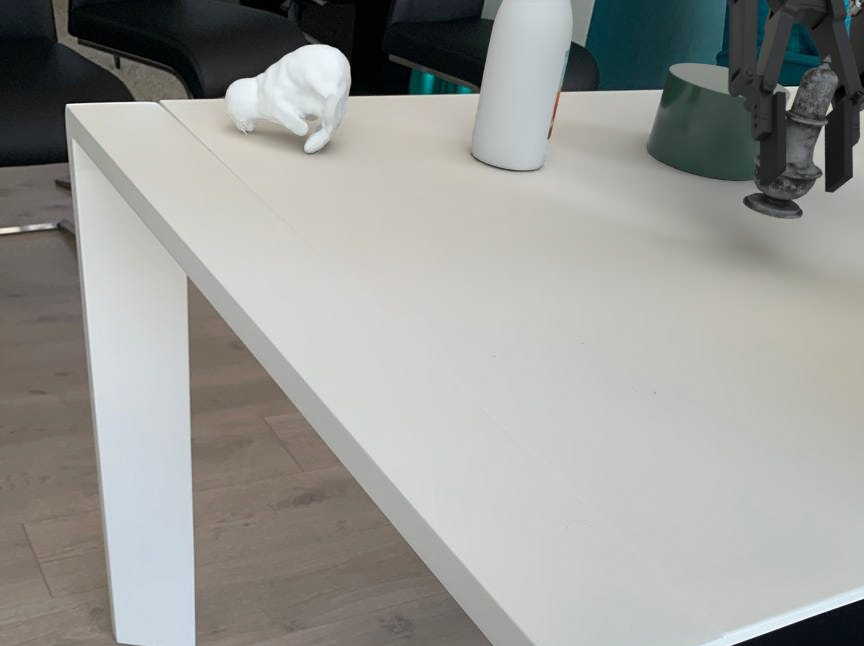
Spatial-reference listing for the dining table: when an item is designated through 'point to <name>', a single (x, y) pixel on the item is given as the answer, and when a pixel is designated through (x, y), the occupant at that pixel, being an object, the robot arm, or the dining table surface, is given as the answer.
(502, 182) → the dining table surface
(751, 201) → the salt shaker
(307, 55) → the white figurine
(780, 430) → the dining table surface
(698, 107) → the pedestal
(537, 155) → the milk bottle
